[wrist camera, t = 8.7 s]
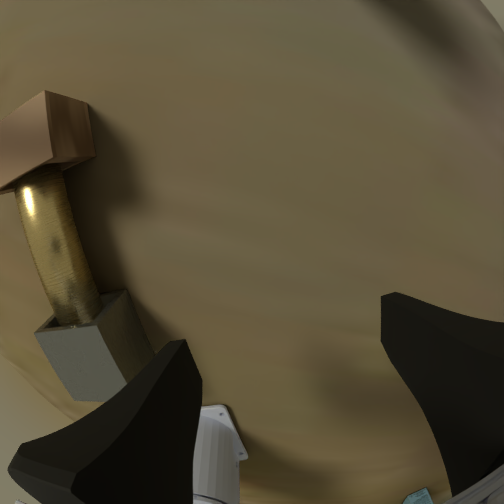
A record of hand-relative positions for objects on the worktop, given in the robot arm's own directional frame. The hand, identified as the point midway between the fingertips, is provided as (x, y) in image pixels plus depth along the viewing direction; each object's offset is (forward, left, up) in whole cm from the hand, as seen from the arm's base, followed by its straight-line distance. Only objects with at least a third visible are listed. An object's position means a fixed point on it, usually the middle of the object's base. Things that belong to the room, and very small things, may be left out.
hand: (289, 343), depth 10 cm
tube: (+6, +13, -9) cm, 17 cm away
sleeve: (-3, +13, -9) cm, 16 cm away
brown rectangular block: (+11, +13, -9) cm, 20 cm away
